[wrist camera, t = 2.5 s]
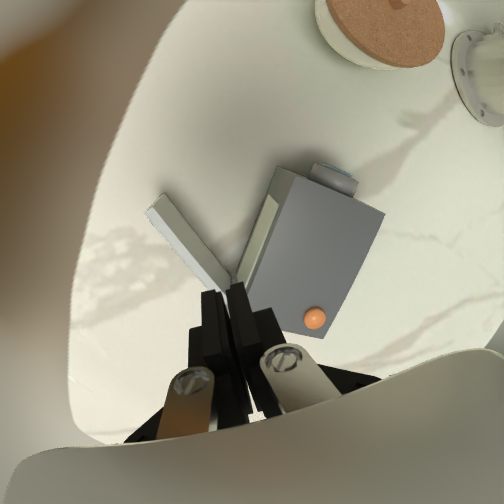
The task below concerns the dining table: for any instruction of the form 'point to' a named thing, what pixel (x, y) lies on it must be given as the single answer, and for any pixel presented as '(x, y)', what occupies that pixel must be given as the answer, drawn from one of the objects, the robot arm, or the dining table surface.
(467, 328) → the dining table surface
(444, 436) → the robot arm
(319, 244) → the camera body
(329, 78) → the dining table surface
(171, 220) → the side door
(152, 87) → the dining table surface
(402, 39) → the lidded jar
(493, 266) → the dining table surface
